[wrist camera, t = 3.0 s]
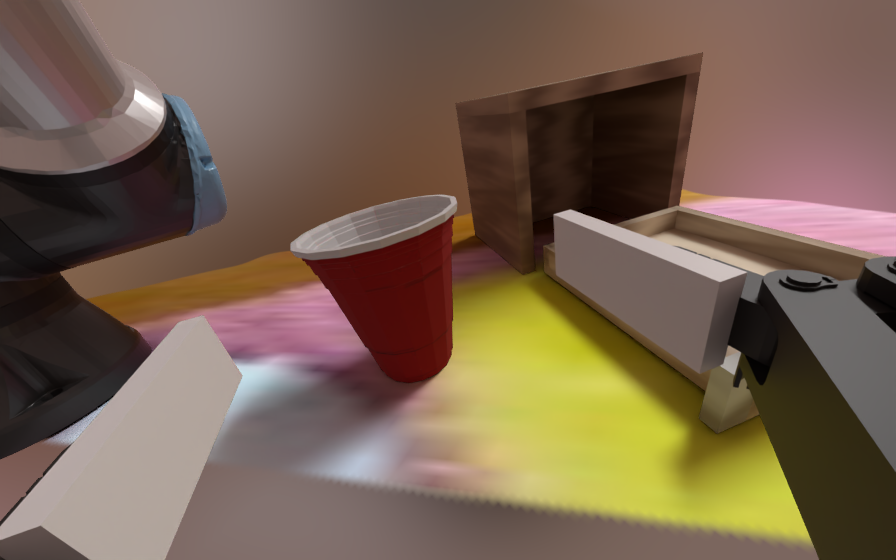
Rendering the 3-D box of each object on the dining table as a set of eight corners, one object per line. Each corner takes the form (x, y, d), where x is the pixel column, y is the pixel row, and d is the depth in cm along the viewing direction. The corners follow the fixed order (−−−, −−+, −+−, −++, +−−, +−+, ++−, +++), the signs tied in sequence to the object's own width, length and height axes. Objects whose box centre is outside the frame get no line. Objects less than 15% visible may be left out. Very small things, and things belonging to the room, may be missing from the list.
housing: (522, 274, 35) (507, 93, 27) (475, 234, 47) (455, 103, 39) (675, 226, 38) (703, 52, 30) (593, 201, 50) (597, 73, 42)
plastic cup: (432, 302, 33) (403, 184, 27) (511, 350, 25) (493, 195, 19) (330, 359, 28) (269, 227, 22) (388, 442, 20) (315, 268, 14)
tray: (717, 433, 16) (735, 376, 15) (528, 277, 33) (525, 241, 32) (980, 316, 20) (1022, 256, 18) (686, 227, 37) (692, 192, 35)
